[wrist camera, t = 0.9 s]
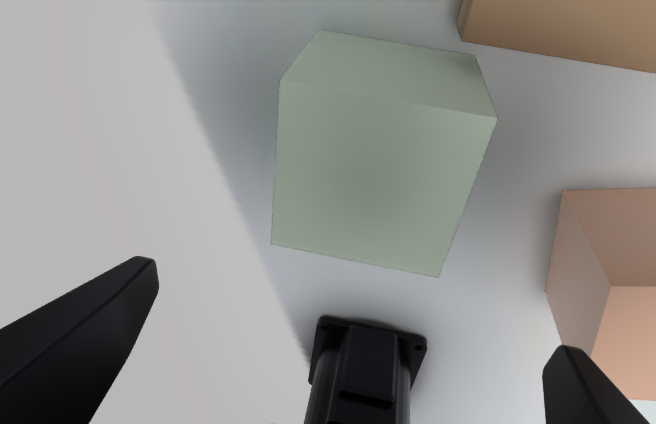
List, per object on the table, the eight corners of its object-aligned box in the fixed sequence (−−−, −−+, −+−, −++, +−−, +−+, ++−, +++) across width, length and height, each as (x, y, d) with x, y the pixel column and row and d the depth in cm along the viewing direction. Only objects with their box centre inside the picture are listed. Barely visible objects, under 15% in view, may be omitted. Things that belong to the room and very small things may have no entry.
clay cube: (679, 291, 21) (757, 406, 16) (544, 289, 22) (579, 396, 18) (723, 184, 18) (837, 289, 13) (562, 189, 19) (611, 286, 14)
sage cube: (433, 187, 20) (438, 277, 15) (305, 163, 21) (270, 244, 16) (474, 54, 17) (497, 118, 12) (319, 29, 17) (279, 79, 12)
